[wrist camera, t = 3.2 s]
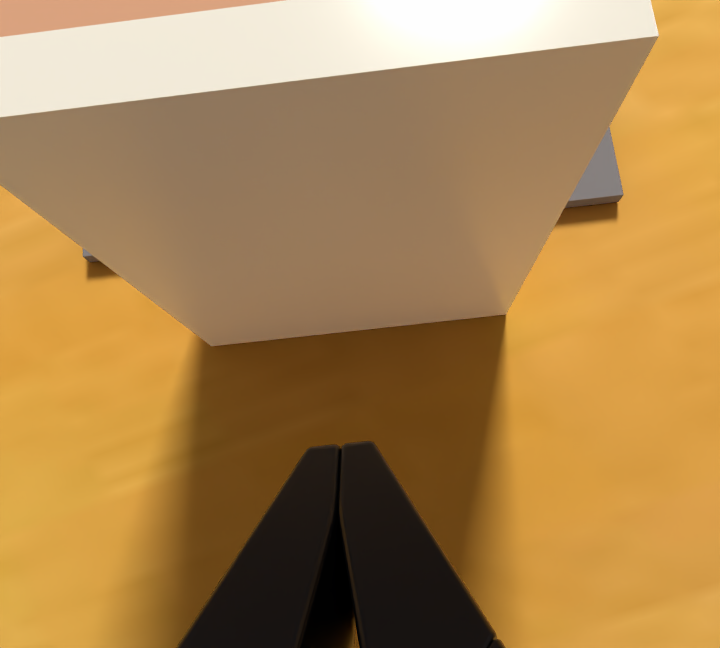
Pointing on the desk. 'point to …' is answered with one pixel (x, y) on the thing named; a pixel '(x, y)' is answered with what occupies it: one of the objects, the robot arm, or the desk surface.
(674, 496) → the desk surface
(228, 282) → the tile
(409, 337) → the desk surface
